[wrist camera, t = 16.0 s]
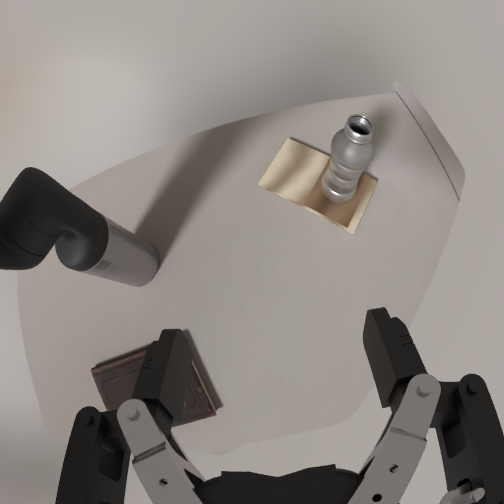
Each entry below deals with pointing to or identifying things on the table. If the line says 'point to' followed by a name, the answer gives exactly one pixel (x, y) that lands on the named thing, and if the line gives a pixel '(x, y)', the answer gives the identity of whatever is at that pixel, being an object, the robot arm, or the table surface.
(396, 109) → the table surface
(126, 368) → the hardcover book
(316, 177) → the board
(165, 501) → the robot arm
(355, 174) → the plastic bottle
